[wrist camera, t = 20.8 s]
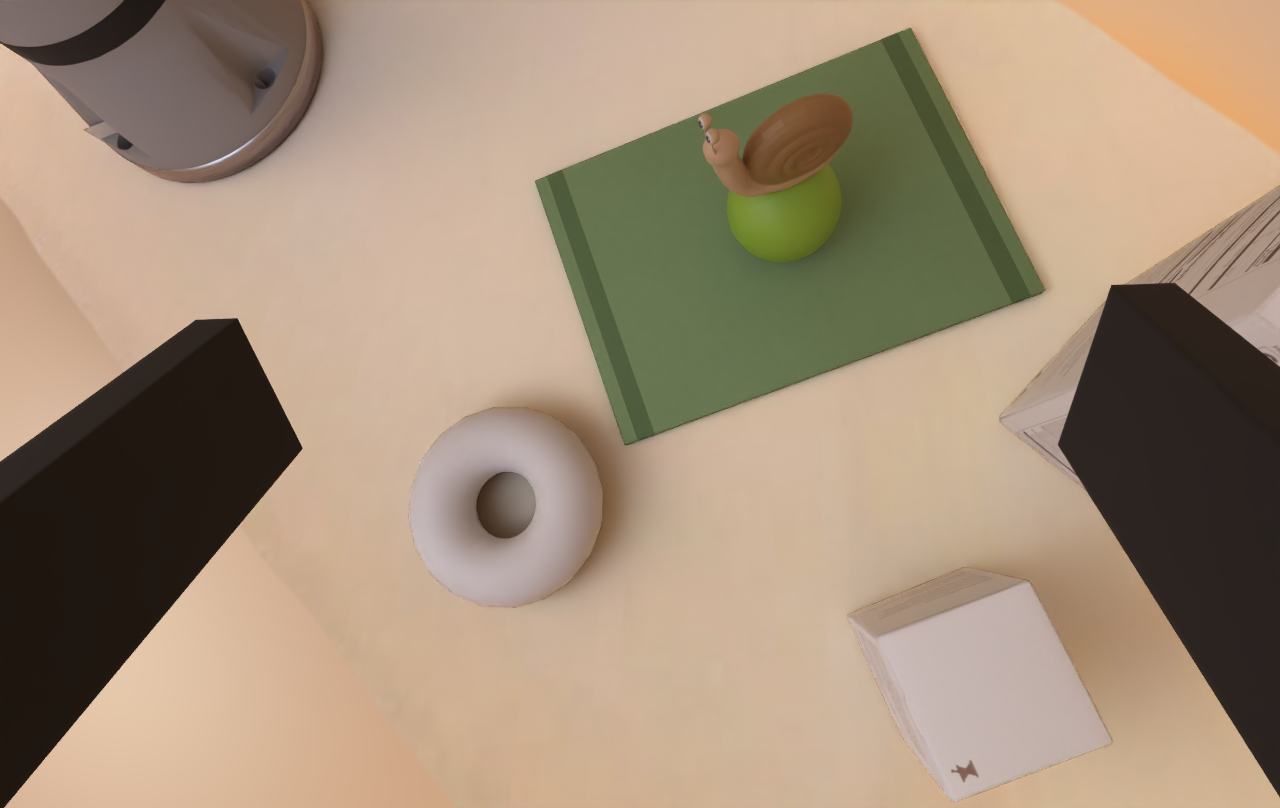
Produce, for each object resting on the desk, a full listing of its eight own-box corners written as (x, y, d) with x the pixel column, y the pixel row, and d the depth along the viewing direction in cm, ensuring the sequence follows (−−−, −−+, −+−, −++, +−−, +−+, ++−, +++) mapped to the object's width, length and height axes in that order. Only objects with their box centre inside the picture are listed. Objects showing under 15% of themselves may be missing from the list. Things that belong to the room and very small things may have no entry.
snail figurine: (694, 215, 36) (670, 67, 24) (805, 164, 35) (836, -13, 23) (736, 303, 34) (732, 191, 23) (851, 250, 34) (908, 110, 22)
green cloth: (536, 184, 38) (534, 180, 37) (908, 32, 36) (910, 27, 35) (625, 445, 34) (624, 444, 34) (1042, 293, 32) (1045, 290, 32)
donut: (625, 428, 35) (449, 398, 36) (614, 418, 31) (420, 386, 33) (589, 622, 33) (407, 582, 35) (573, 634, 30) (372, 589, 31)
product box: (1030, 694, 30) (1121, 749, 22) (901, 742, 30) (950, 811, 23) (965, 563, 31) (1031, 576, 24) (843, 610, 31) (872, 637, 24)
